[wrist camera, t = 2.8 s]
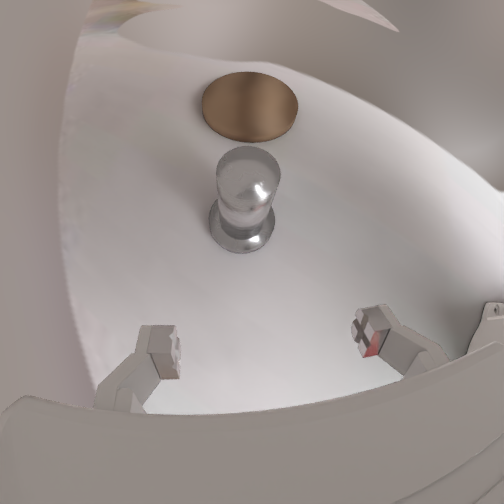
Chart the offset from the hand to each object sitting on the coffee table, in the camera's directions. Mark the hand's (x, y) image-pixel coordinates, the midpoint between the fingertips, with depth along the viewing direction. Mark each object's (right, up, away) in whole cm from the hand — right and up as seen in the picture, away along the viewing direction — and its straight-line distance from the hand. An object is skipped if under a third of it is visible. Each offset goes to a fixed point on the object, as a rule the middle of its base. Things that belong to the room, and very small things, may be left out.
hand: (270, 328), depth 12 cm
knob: (-2, +6, +16) cm, 18 cm away
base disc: (-1, +22, +21) cm, 30 cm away
